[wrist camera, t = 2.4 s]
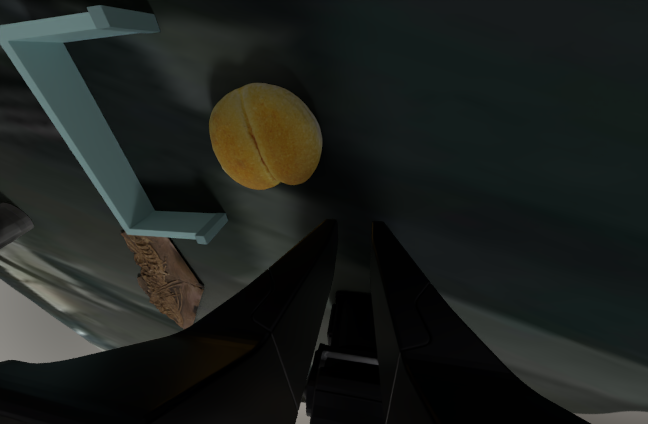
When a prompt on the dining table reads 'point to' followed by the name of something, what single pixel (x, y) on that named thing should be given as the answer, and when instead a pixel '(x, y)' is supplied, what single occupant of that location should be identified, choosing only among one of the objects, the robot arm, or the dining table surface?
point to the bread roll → (265, 136)
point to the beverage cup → (12, 223)
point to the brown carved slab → (166, 278)
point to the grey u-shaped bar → (95, 115)
